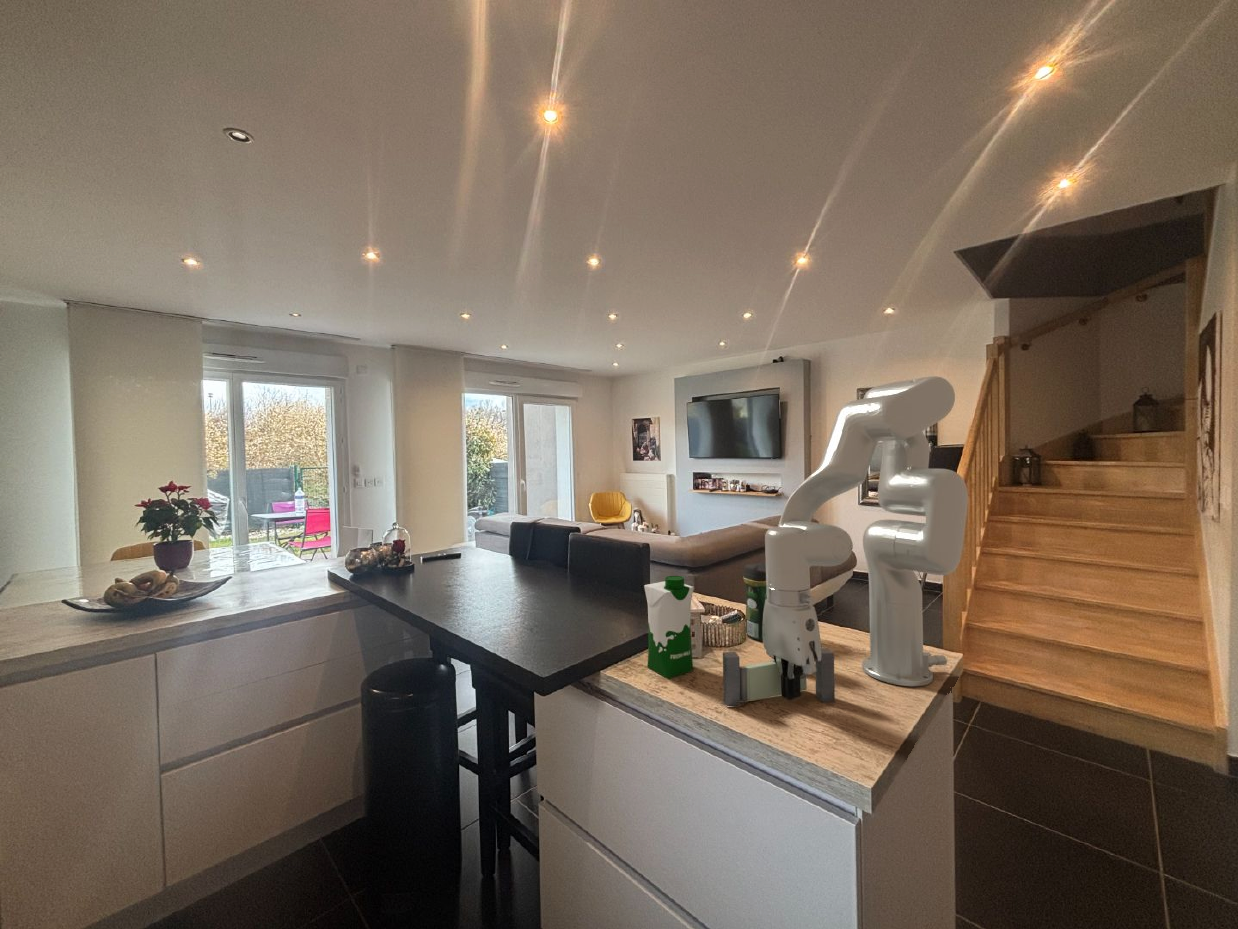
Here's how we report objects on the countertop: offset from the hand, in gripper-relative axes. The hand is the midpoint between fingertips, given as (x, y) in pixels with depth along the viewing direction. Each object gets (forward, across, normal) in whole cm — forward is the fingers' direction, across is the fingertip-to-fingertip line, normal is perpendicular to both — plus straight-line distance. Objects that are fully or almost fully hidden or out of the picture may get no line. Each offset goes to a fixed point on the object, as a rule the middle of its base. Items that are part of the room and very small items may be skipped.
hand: (791, 696), depth 88 cm
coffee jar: (+2, +28, -21) cm, 35 cm away
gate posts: (+2, +2, +1) cm, 3 cm away
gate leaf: (+1, +4, +1) cm, 4 cm away
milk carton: (+2, +24, +11) cm, 26 cm away
